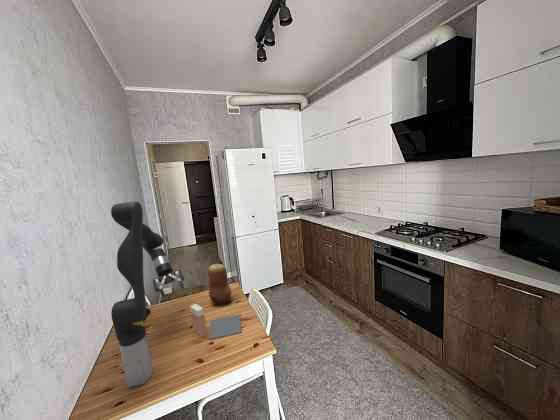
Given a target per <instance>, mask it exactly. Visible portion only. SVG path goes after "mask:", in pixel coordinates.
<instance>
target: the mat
mask: <svg viewBox="0 0 560 420" xmlns="http://www.w3.org/2000/svg"><path fill="white" fill-rule="evenodd" d="M242 332H243V331H242V322H241V314H240V313H239V314H234V315H230V316H224V317H220V318H214V319H211V320H210V326H209V333H208V334H209V335H208V341H211V340H216V339H221V338H225V337H229V336H234V335H238V334H242Z"/></svg>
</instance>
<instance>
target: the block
mask: <svg viewBox="0 0 560 420" xmlns="http://www.w3.org/2000/svg"><path fill="white" fill-rule="evenodd" d="M189 309H190V310H189V311H190V315H191V316H190V317H191V322H192V328H193V332H194V333H195V334H197V335H198V336H200V337H201V338H202V337H204V336H206V335H208V334H207V333H208V332H207V326H206V318H205V311H204V307H201V306H200V305H199V304H196V303H194V304H192V305H190V306H189Z"/></svg>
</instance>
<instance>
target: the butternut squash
mask: <svg viewBox="0 0 560 420" xmlns="http://www.w3.org/2000/svg"><path fill="white" fill-rule="evenodd" d="M207 275H208V283H209V290H208V296H209V299H210V301H211V302H213V303H214V304H220V305H223V304H225V303H228V301H229V300H230V299H231V296H232V289H231V287H230V285H229V283H228V272H227V268H226V266H225V265H224V264H221V263H215V264H212V265H211V266H209V267H208V269H207Z"/></svg>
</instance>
